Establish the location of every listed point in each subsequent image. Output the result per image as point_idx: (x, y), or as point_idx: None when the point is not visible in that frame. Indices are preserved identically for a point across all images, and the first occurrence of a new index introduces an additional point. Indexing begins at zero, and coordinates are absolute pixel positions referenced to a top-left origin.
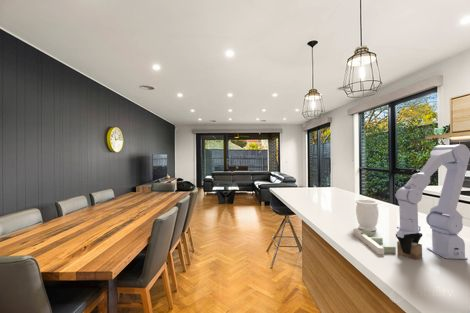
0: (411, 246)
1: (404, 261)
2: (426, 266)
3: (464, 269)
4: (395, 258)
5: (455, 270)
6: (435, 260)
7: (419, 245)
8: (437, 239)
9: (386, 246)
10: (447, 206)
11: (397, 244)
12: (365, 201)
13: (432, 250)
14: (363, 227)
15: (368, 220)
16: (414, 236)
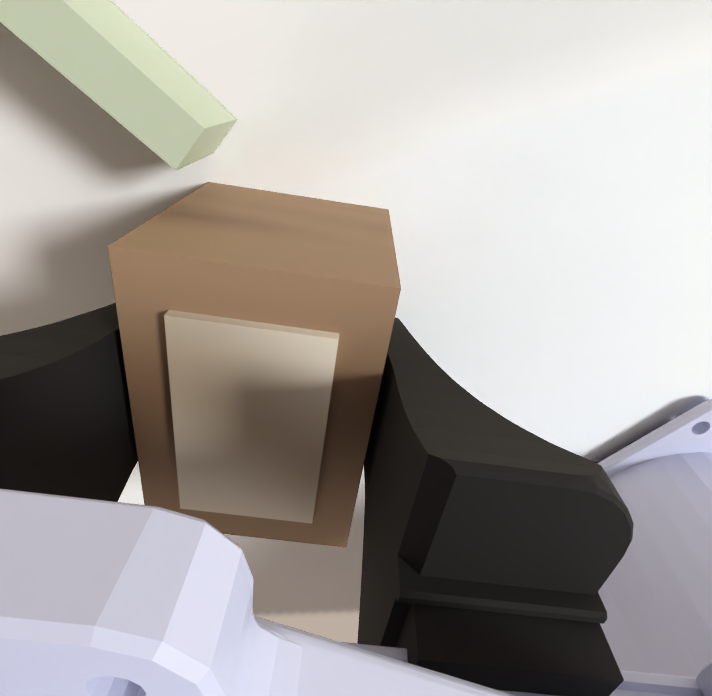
0: (150, 462)
1: (37, 319)
2: (138, 469)
3: (341, 609)
4: (6, 218)
5: (267, 584)
6: (364, 491)
7: (266, 536)
8: (668, 670)
9: (17, 5)
10: None
11: (143, 228)
12: None
13: (624, 459)
14: None
15: None
16: (368, 588)
